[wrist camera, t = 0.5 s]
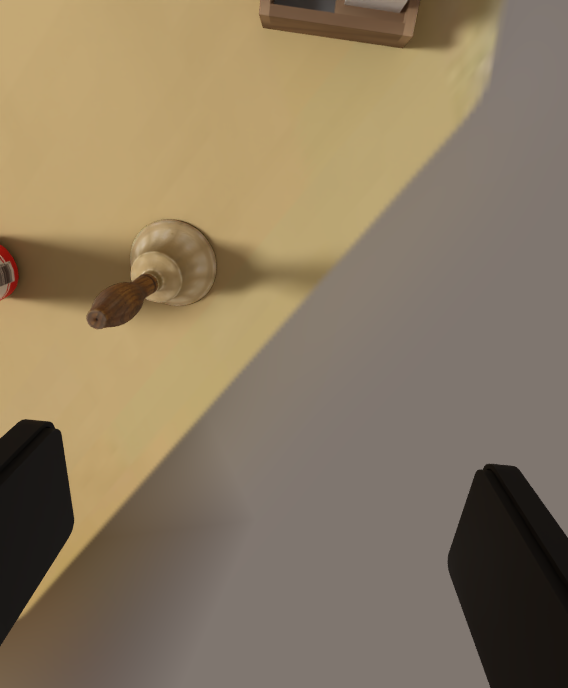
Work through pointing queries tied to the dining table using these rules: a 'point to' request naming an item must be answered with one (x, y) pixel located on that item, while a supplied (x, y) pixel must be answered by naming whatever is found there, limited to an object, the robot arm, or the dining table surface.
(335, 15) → the tray
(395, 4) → the block
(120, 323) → the hand bell
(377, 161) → the dining table surface
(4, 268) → the beer can
